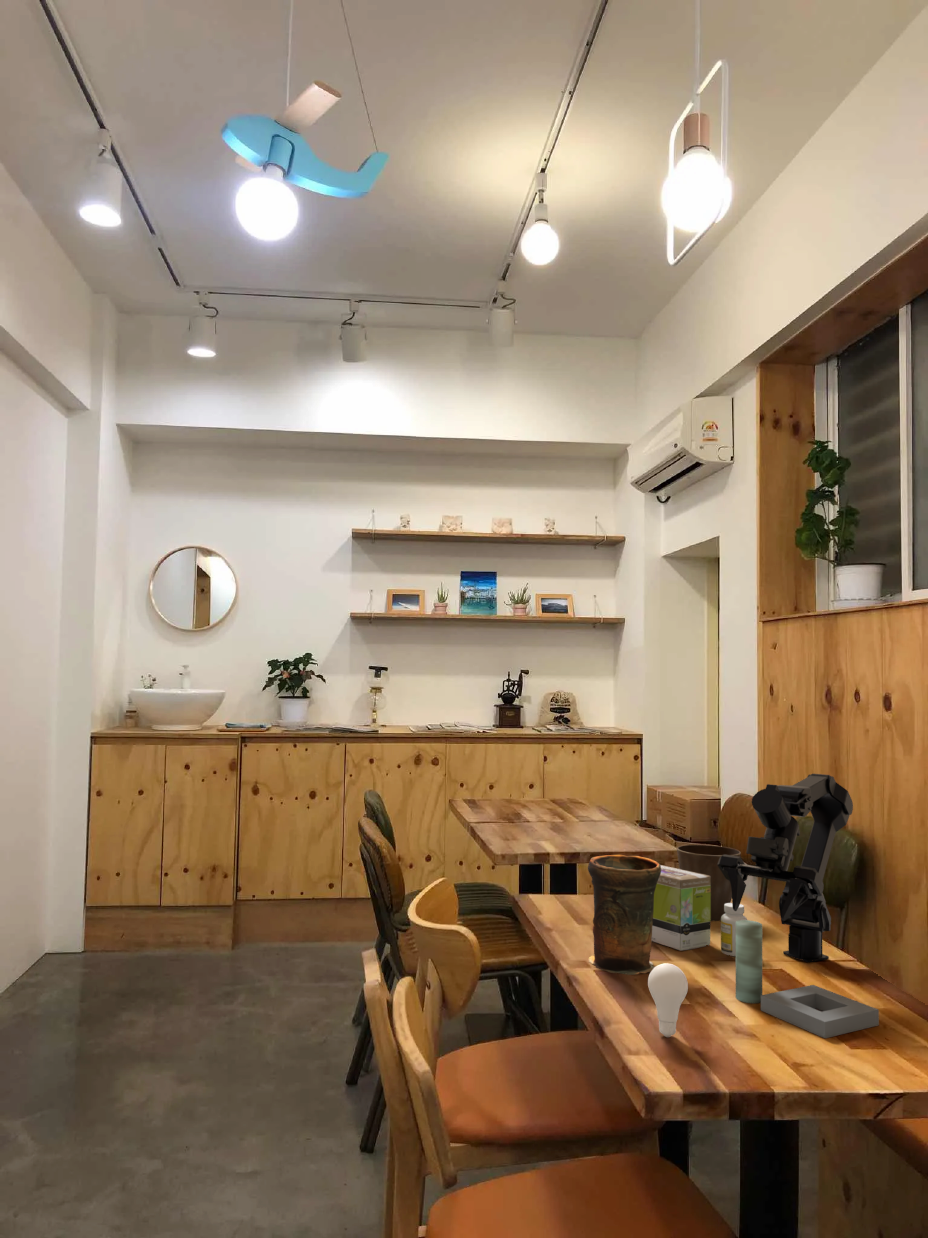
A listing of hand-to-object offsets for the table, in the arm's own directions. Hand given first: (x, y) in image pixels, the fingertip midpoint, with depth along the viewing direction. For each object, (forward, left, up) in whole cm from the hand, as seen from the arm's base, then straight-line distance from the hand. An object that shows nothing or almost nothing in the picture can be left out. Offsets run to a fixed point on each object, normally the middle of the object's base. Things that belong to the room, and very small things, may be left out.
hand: (758, 914), depth 162 cm
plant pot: (-27, -41, -13) cm, 51 cm away
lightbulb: (+32, +11, -13) cm, 36 cm away
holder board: (+3, +16, -13) cm, 21 cm away
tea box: (-5, -30, -13) cm, 33 cm away
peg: (+7, +4, -13) cm, 15 cm away
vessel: (+15, -21, -13) cm, 29 cm away
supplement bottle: (-11, -17, -13) cm, 24 cm away
